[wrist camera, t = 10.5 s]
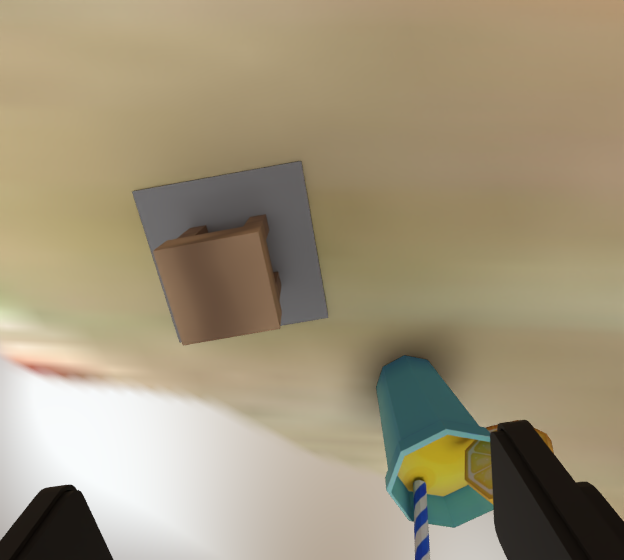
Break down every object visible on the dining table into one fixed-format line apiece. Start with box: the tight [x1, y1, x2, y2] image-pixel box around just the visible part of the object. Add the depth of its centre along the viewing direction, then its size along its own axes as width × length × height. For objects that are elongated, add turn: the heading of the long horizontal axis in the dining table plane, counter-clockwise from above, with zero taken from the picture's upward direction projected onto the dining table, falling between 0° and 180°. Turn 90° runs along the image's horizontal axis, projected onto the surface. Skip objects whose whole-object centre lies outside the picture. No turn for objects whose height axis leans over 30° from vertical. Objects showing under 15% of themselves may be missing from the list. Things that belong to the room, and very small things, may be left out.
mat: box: [132, 161, 328, 342], centre depth 30 cm, size 12×12×1 cm
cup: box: [376, 355, 554, 560], centre depth 28 cm, size 14×8×15 cm, turn 145°
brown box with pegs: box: [153, 214, 282, 345], centre depth 27 cm, size 6×6×7 cm
